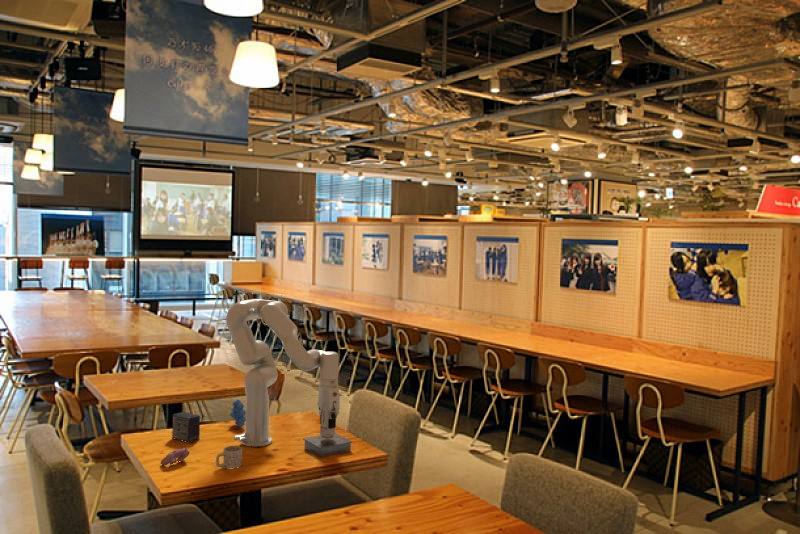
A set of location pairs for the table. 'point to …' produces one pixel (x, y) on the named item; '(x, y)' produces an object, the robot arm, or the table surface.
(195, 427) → the small box
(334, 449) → the stand
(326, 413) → the energy drink can
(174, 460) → the purple oval lump
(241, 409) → the grapes
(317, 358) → the robot arm
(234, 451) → the mug
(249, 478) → the table surface
